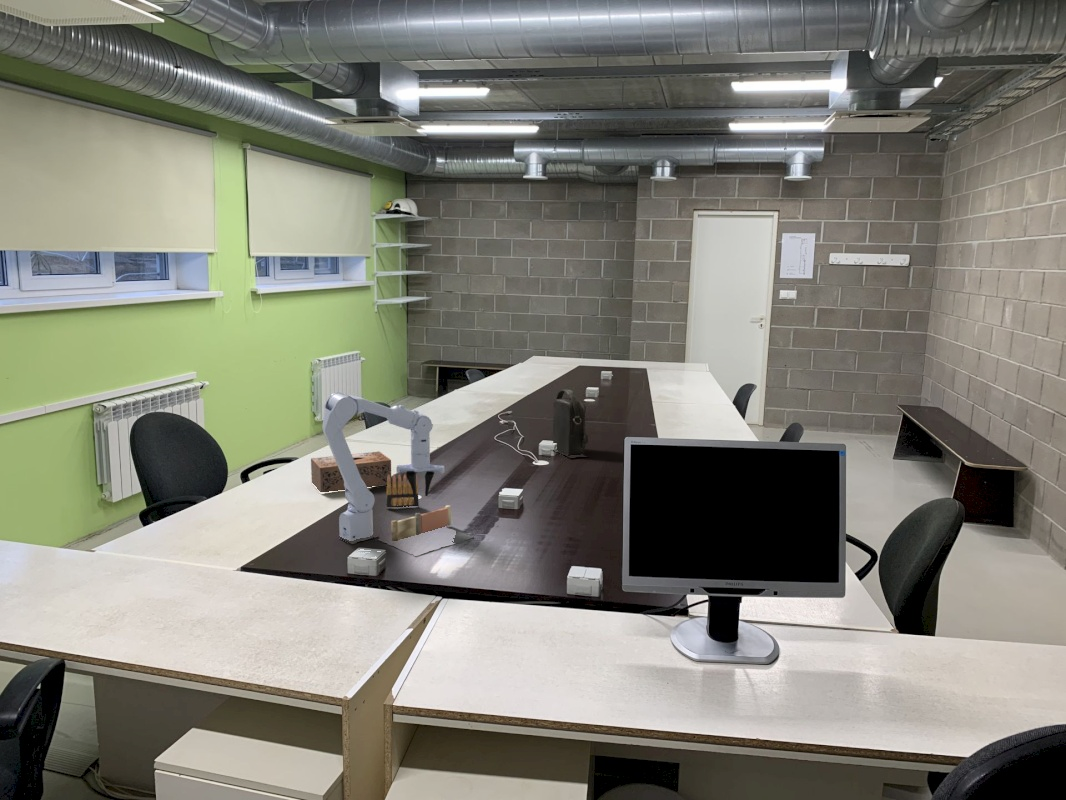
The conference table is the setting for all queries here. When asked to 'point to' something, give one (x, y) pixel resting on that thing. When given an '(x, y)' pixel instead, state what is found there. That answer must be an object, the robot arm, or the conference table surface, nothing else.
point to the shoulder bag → (569, 424)
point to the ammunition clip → (396, 493)
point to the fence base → (406, 527)
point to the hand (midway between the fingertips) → (420, 495)
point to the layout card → (461, 537)
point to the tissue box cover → (368, 464)
